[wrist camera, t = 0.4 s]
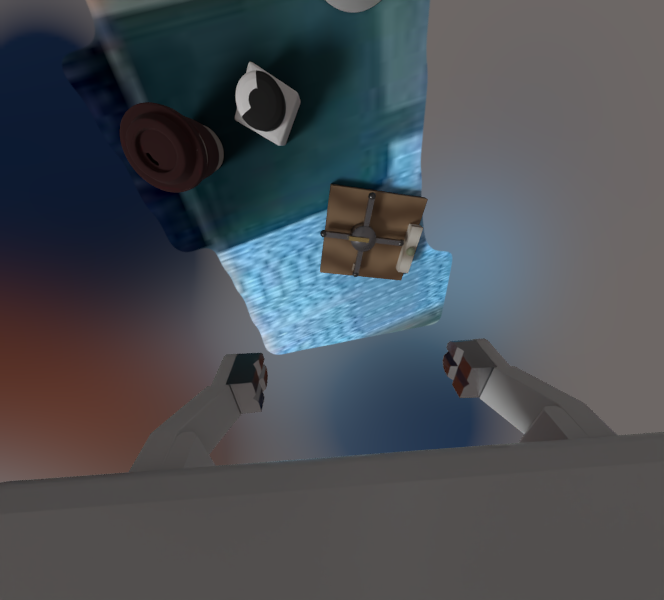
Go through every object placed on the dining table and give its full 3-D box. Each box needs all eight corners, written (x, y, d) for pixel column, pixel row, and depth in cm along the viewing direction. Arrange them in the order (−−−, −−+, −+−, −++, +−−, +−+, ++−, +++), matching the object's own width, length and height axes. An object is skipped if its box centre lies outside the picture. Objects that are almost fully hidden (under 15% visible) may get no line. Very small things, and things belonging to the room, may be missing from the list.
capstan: (325, 183, 45) (326, 186, 42) (413, 196, 47) (420, 200, 44) (315, 268, 54) (315, 275, 51) (390, 275, 56) (394, 282, 53)
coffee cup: (222, 111, 40) (180, 97, 27) (238, 178, 45) (209, 191, 33) (162, 115, 40) (91, 103, 27) (185, 182, 45) (135, 197, 33)
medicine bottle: (301, 100, 40) (296, 86, 30) (285, 146, 43) (275, 146, 33) (259, 72, 38) (238, 47, 28) (245, 122, 41) (222, 116, 31)
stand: (330, 183, 47) (332, 187, 42) (423, 197, 49) (434, 202, 45) (320, 268, 56) (320, 279, 52) (398, 276, 59) (405, 287, 54)
